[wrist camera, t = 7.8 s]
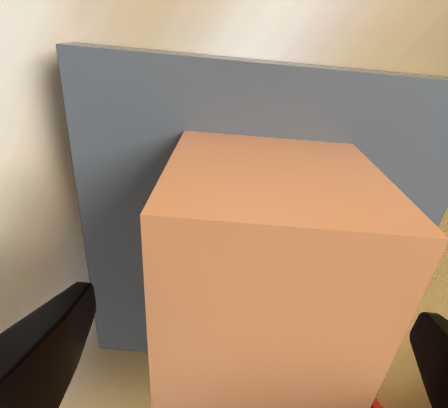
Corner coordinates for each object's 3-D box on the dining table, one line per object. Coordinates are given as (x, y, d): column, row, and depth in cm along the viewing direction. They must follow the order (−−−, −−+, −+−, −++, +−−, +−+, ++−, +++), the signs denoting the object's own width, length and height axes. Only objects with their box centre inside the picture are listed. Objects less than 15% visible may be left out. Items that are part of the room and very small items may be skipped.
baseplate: (474, 79, 10) (502, 85, 9) (362, 348, 15) (371, 371, 14) (75, 42, 10) (55, 43, 9) (108, 326, 15) (99, 348, 14)
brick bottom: (353, 144, 10) (450, 238, 5) (303, 332, 13) (335, 480, 9) (184, 130, 10) (139, 214, 5) (181, 323, 13) (154, 466, 9)
